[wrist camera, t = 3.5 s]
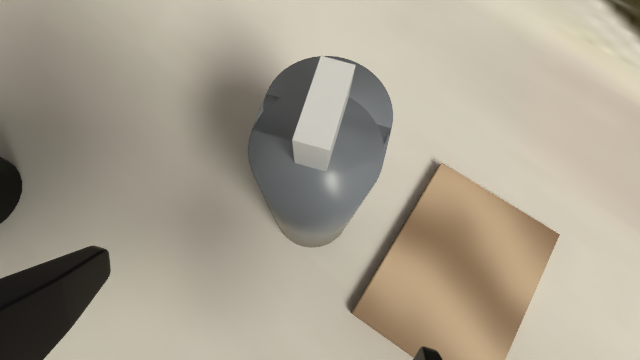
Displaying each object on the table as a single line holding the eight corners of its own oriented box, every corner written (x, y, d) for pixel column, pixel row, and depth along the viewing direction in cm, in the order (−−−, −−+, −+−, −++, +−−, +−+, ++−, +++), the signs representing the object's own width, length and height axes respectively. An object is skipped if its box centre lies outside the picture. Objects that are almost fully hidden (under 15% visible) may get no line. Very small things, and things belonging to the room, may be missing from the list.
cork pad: (478, 403, 19) (483, 407, 19) (351, 312, 21) (352, 313, 20) (553, 235, 23) (559, 234, 22) (438, 165, 24) (442, 162, 23)
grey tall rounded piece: (337, 256, 22) (378, 221, 9) (265, 235, 22) (212, 173, 10) (361, 166, 24) (421, 39, 11) (295, 148, 24) (282, 3, 12)
